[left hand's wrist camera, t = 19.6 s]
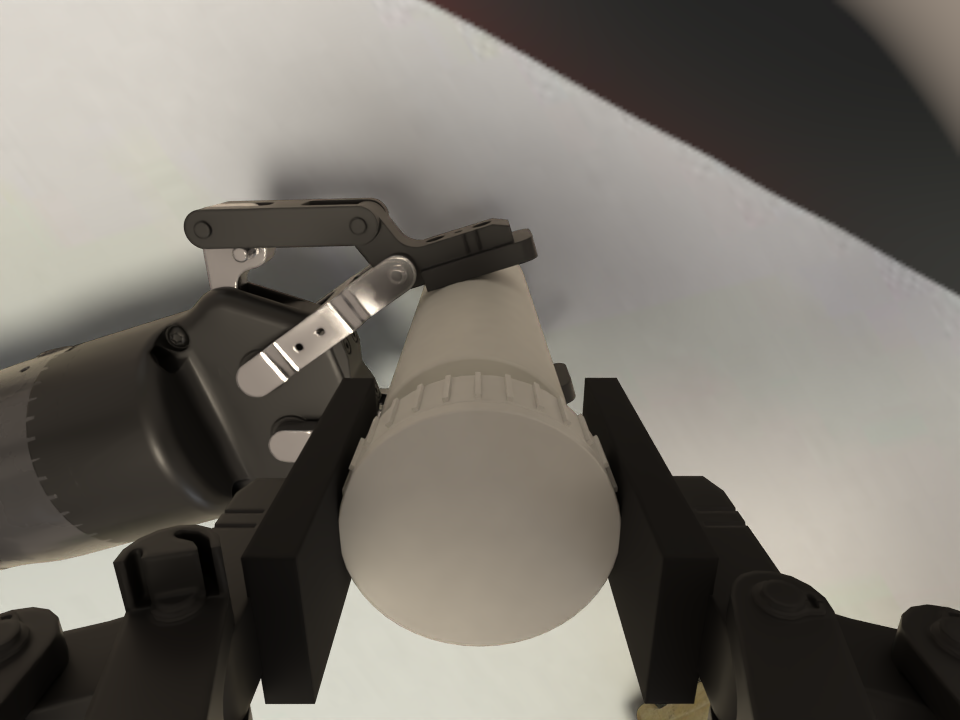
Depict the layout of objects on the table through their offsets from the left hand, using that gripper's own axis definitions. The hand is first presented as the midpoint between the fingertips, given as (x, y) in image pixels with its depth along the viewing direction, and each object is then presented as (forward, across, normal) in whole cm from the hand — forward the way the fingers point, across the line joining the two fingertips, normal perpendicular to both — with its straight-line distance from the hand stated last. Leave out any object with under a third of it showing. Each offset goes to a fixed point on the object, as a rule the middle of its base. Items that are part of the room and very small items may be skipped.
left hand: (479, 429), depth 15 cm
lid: (-4, 0, 0) cm, 4 cm away
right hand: (+7, -2, -1) cm, 7 cm away
